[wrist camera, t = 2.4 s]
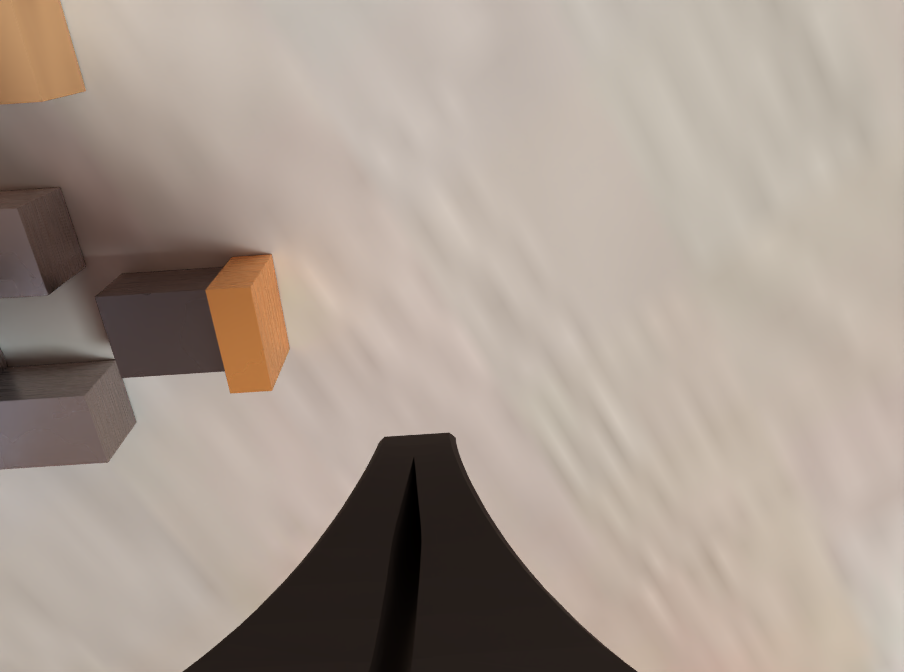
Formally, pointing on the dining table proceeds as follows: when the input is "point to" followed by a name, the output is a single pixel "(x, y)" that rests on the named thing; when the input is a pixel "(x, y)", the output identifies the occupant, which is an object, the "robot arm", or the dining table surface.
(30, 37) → the frame
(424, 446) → the robot arm
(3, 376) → the socket block
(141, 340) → the drift key
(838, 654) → the dining table surface
